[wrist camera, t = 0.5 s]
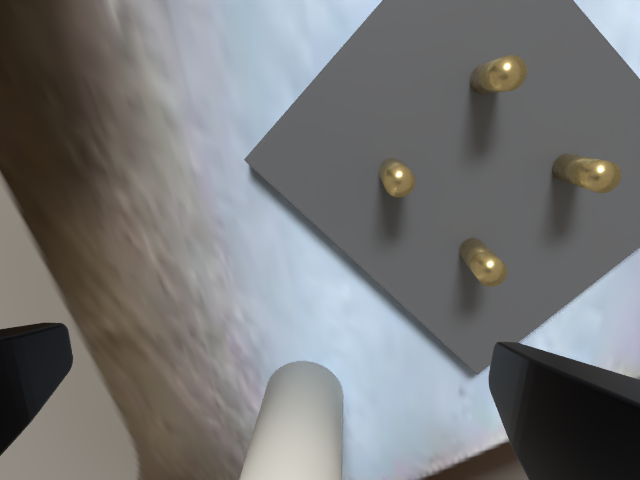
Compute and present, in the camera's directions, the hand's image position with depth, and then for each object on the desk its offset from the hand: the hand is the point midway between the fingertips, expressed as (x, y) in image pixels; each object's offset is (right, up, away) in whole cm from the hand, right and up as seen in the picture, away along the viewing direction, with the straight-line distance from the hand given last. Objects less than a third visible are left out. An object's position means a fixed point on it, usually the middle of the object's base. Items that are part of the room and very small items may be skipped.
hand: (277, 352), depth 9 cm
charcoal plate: (+8, +6, +11) cm, 15 cm away
